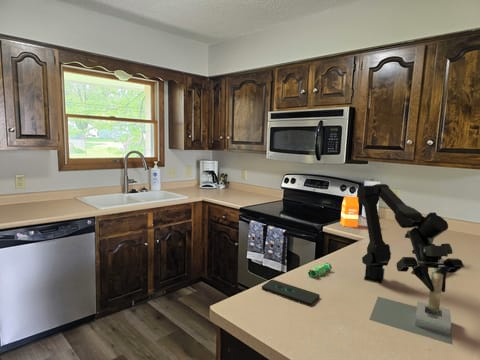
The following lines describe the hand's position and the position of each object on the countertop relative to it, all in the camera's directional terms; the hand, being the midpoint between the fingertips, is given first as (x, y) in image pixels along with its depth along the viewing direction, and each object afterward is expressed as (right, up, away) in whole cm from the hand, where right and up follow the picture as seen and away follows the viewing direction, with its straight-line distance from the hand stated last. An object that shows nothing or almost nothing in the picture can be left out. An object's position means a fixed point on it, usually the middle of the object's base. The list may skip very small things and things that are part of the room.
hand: (438, 291), depth 97 cm
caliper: (+23, -8, +39) cm, 46 cm away
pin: (0, -6, +2) cm, 7 cm away
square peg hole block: (0, -11, +3) cm, 11 cm away
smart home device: (-42, -8, +20) cm, 47 cm away
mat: (-5, -11, +6) cm, 13 cm away
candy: (-26, -6, +38) cm, 47 cm away
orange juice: (+13, +3, +117) cm, 118 cm away
